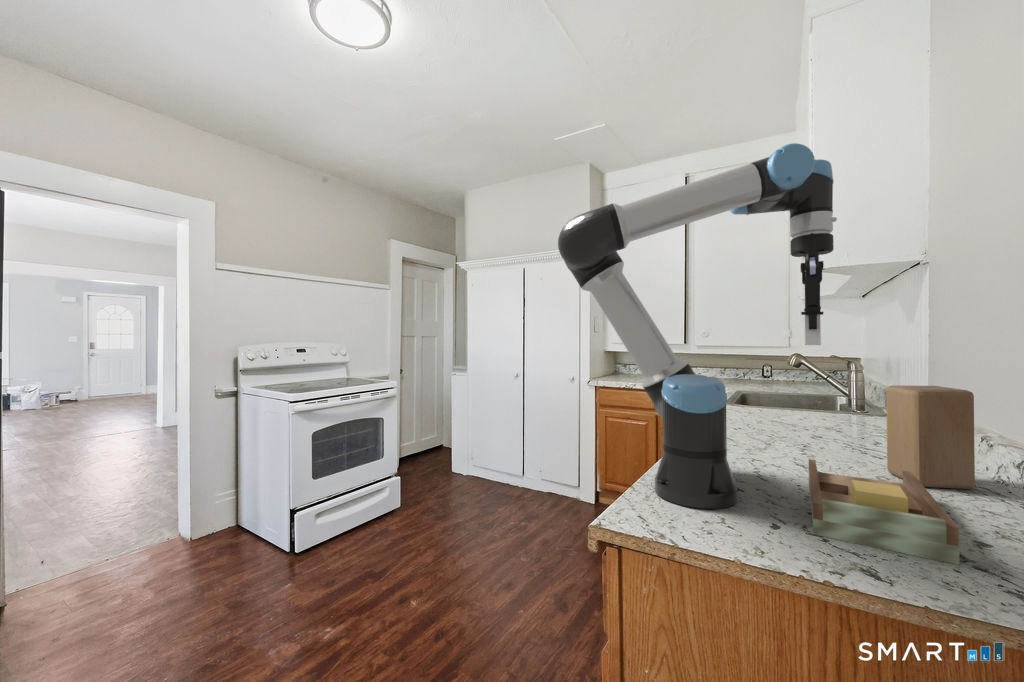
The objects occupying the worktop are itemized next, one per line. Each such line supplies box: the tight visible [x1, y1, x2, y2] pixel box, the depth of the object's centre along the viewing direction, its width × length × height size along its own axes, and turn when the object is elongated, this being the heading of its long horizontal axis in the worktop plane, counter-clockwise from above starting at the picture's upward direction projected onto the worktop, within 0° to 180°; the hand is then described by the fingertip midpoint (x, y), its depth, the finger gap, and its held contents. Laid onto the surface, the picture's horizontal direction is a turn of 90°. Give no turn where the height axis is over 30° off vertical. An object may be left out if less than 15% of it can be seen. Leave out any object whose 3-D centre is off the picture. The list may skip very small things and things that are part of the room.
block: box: [885, 384, 976, 490], centre depth 88 cm, size 10×10×20 cm
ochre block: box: [852, 480, 908, 513], centre depth 65 cm, size 6×6×4 cm
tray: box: [808, 458, 960, 565], centre depth 72 cm, size 16×28×6 cm, turn 145°
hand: (812, 344), depth 89 cm, fingers closed
